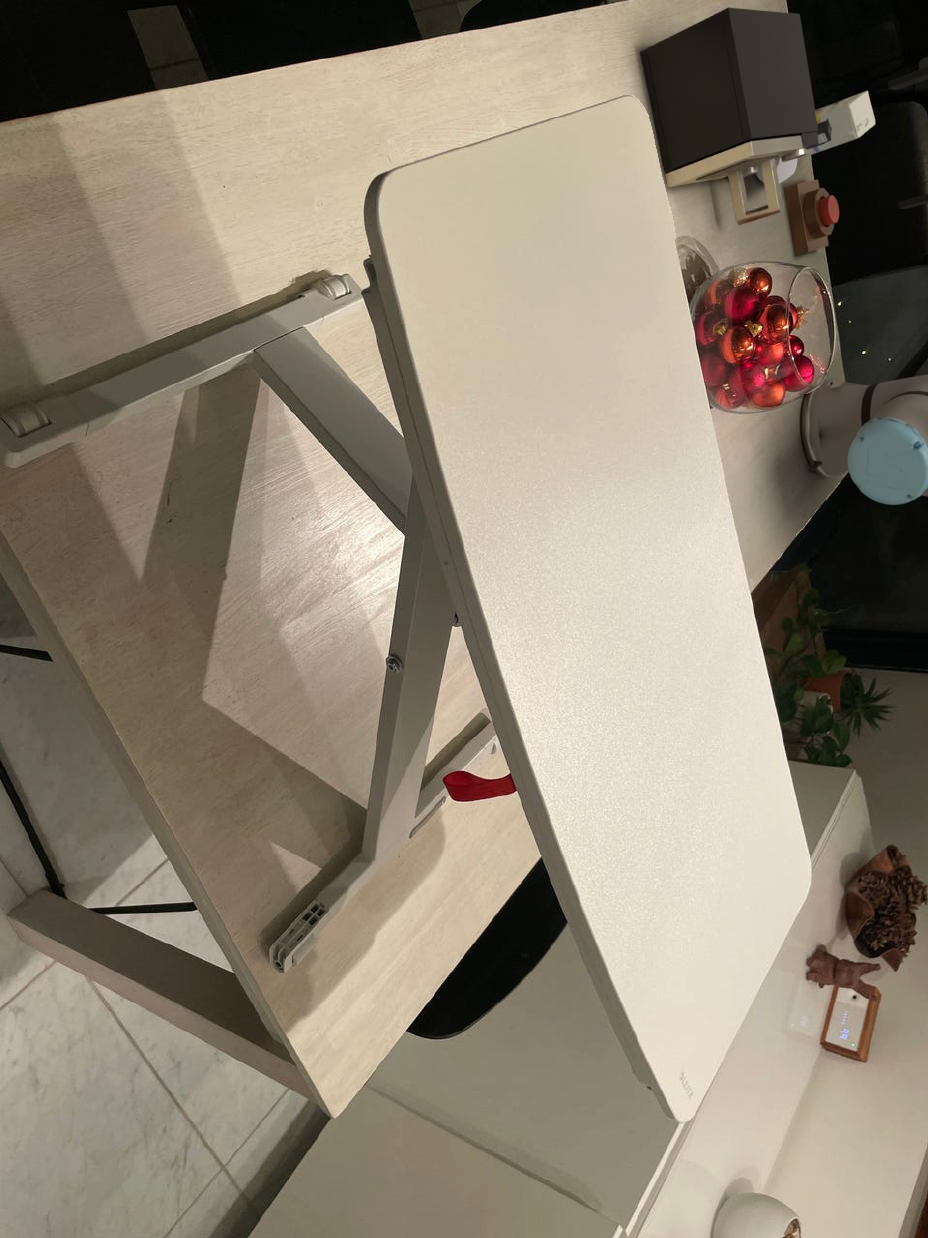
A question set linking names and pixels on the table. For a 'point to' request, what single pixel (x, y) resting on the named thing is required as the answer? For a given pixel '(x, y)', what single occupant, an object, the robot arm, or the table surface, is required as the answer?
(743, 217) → the door
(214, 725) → the table surface
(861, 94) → the ink box
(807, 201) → the box
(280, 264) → the table surface
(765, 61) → the box
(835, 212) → the button
